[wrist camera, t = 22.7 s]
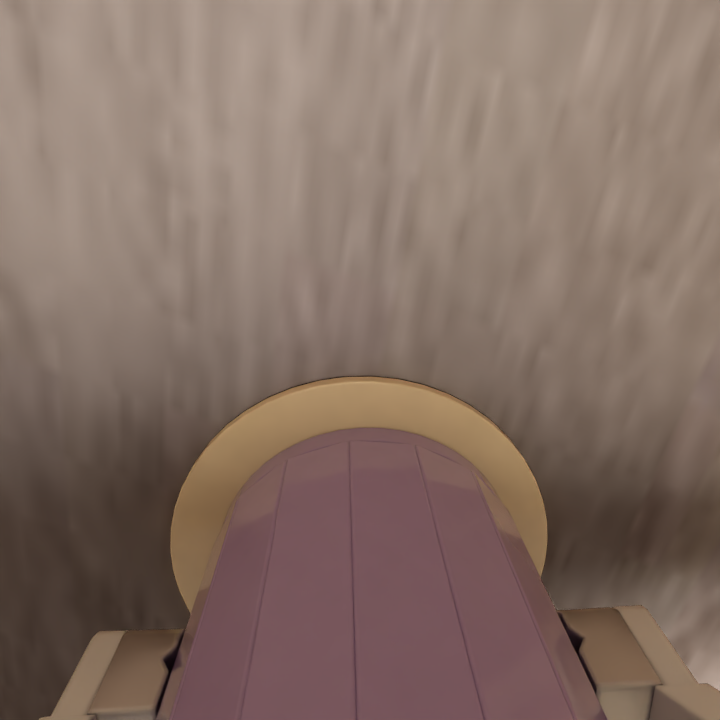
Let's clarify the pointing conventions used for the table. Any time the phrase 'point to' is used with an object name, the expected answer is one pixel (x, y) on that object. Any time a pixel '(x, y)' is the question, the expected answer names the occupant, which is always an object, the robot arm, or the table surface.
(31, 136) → the table surface
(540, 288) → the table surface
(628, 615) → the robot arm
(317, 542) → the purple tumbler
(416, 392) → the coasters
